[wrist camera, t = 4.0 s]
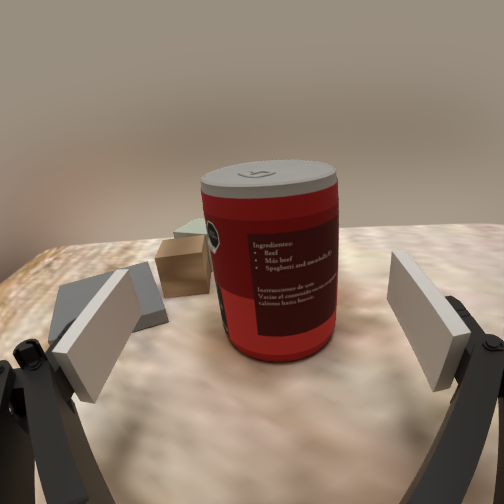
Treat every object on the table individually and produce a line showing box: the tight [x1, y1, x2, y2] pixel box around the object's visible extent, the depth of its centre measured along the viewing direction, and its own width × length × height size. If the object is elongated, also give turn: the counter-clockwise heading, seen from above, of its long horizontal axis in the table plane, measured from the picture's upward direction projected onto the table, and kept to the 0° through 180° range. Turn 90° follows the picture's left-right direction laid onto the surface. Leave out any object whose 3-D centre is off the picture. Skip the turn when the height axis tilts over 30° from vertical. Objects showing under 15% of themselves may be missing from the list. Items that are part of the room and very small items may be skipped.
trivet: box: [48, 261, 169, 346], centre depth 26 cm, size 10×10×1 cm
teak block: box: [155, 235, 211, 298], centre depth 29 cm, size 4×4×4 cm
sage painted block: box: [173, 219, 213, 272], centre depth 33 cm, size 4×4×4 cm
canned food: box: [201, 160, 339, 362], centre depth 20 cm, size 8×8×11 cm
